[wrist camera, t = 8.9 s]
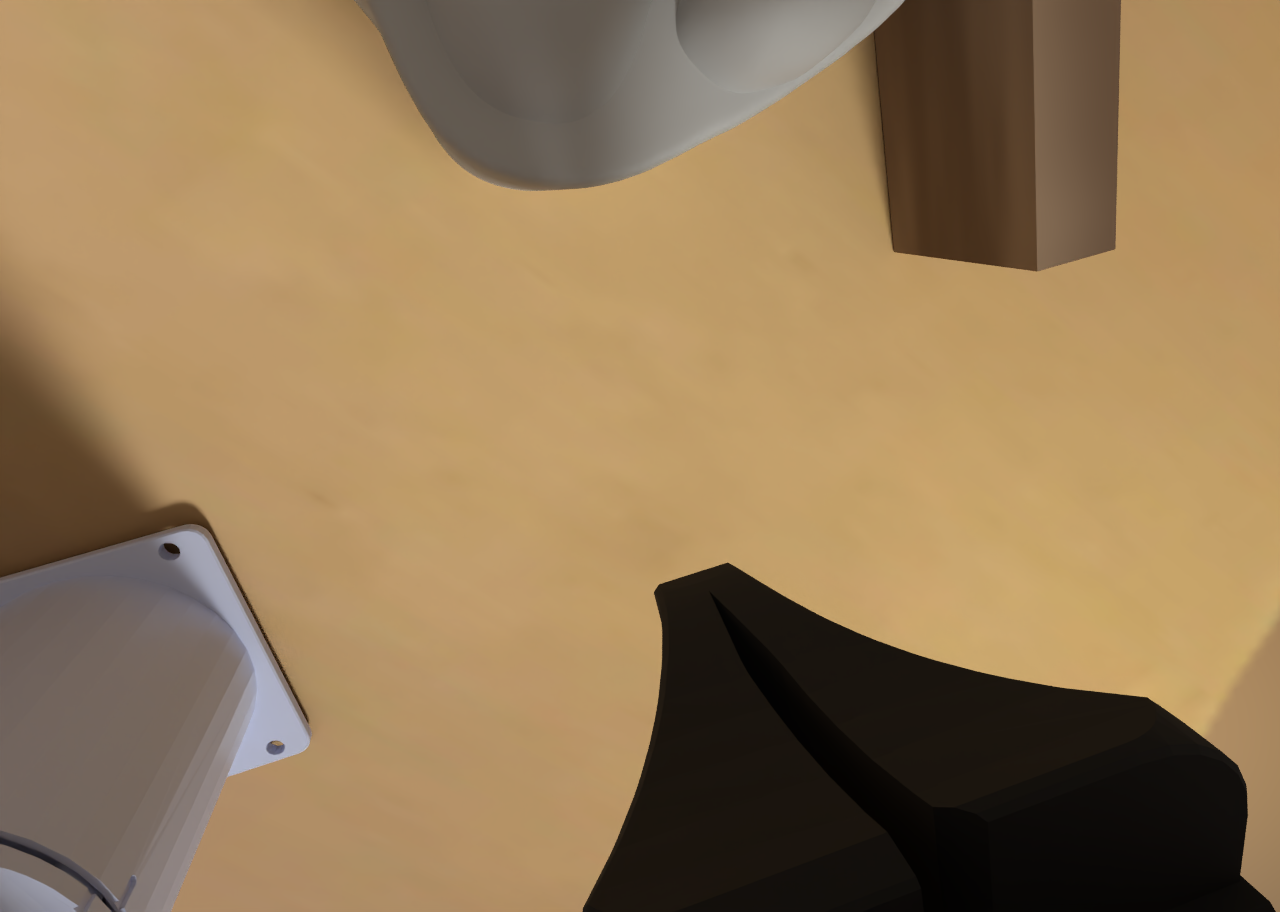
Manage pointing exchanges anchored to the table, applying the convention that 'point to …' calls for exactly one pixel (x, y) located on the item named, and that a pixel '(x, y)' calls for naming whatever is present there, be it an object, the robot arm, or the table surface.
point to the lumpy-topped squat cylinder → (604, 76)
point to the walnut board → (1001, 128)
